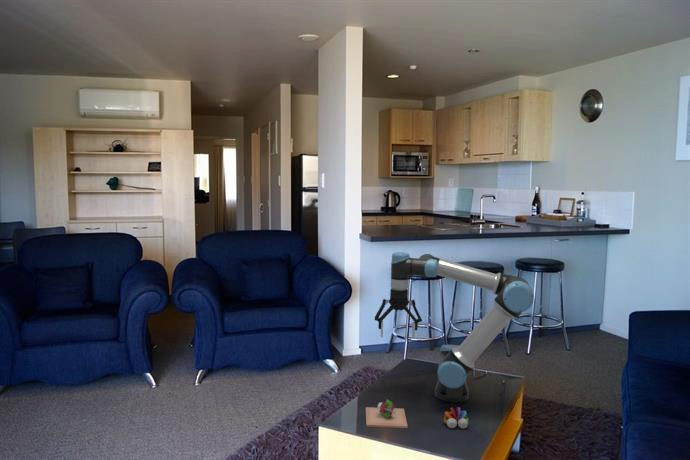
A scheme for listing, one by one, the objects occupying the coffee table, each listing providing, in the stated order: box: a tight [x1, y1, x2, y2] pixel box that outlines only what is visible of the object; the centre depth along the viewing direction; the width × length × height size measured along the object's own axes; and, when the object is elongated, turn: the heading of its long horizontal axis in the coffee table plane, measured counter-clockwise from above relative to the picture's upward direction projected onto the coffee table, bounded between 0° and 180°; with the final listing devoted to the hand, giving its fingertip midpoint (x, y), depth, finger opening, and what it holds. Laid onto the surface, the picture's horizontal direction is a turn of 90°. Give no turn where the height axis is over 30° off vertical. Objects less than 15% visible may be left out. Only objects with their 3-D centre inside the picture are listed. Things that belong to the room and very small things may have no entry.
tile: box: [365, 406, 409, 429], centre depth 215 cm, size 16×16×1 cm
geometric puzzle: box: [376, 398, 396, 419], centre depth 215 cm, size 7×7×8 cm
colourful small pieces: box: [443, 407, 469, 430], centre depth 211 cm, size 8×10×7 cm
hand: (397, 337), depth 230 cm, fingers open, 13 cm apart
